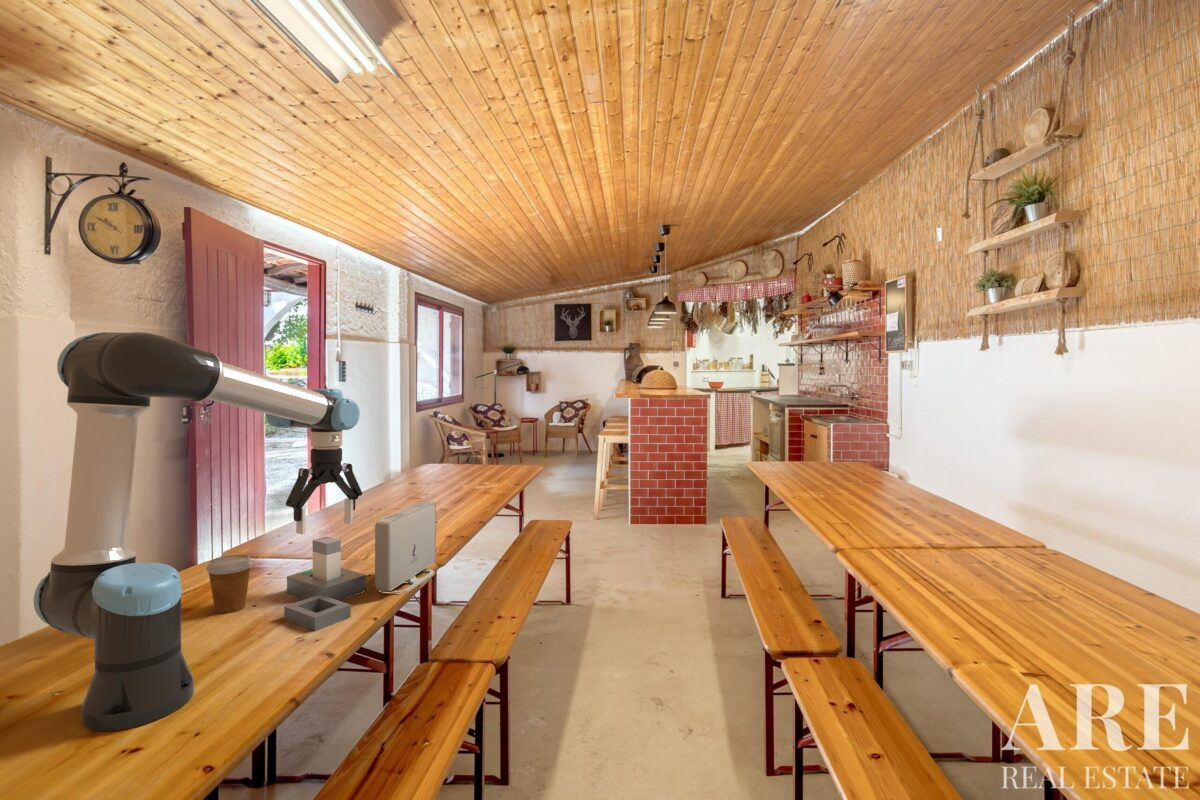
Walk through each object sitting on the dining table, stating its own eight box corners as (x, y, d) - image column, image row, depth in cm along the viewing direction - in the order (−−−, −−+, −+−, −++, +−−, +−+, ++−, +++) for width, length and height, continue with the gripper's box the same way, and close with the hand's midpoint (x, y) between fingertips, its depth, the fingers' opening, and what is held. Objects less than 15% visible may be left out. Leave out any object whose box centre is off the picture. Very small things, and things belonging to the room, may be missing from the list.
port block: (324, 606, 143) (324, 587, 143) (286, 593, 151) (286, 575, 151) (365, 591, 153) (365, 573, 153) (328, 579, 161) (328, 563, 161)
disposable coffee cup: (258, 608, 141) (258, 559, 141) (212, 619, 134) (212, 568, 134) (246, 597, 148) (245, 551, 147) (202, 608, 141) (201, 559, 140)
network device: (395, 600, 148) (396, 523, 147) (365, 597, 149) (365, 520, 149) (442, 568, 173) (443, 502, 172) (415, 566, 174) (416, 500, 174)
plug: (326, 597, 149) (326, 543, 148) (312, 592, 152) (312, 540, 151) (340, 592, 152) (340, 540, 152) (326, 588, 155) (326, 536, 155)
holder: (315, 631, 129) (315, 617, 129) (284, 618, 135) (284, 606, 135) (350, 617, 137) (350, 604, 137) (319, 606, 143) (319, 594, 143)
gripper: (288, 452, 138) (287, 540, 139) (376, 444, 159) (375, 521, 160) (270, 450, 142) (269, 535, 142) (358, 443, 163) (357, 517, 164)
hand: (325, 528), depth 151 cm, fingers open, 13 cm apart
